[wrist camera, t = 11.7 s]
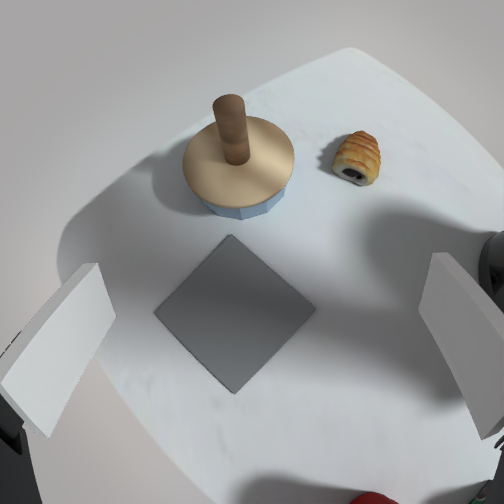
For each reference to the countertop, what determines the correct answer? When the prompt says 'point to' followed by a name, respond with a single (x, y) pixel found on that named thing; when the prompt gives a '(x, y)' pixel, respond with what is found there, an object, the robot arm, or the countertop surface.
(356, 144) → the pastry
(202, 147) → the lid
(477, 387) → the robot arm
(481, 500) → the coffee box
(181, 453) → the countertop surface
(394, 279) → the countertop surface
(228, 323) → the mat
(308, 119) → the countertop surface
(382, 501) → the plastic cup
